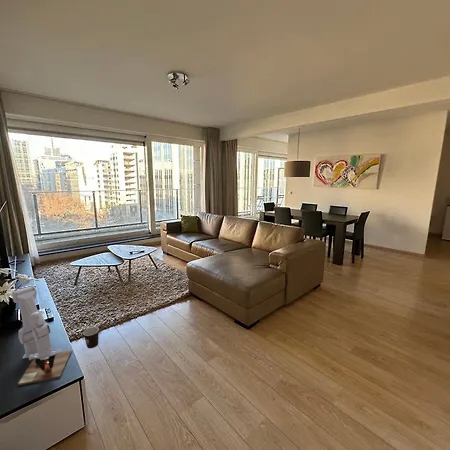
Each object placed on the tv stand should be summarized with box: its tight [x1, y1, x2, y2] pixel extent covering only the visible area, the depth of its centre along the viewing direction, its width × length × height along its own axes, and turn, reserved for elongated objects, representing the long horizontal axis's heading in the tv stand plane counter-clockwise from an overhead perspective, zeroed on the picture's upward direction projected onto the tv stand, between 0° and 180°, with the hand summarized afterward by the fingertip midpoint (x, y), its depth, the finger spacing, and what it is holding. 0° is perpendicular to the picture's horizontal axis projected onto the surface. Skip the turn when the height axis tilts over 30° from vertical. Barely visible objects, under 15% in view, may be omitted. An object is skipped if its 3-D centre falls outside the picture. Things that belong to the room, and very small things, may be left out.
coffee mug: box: [81, 326, 100, 349], centre depth 155 cm, size 12×9×10 cm
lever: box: [36, 357, 52, 373], centre depth 137 cm, size 14×7×5 cm, turn 57°
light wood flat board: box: [17, 349, 73, 386], centre depth 137 cm, size 20×19×5 cm
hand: (47, 367), depth 133 cm, fingers open, 3 cm apart
